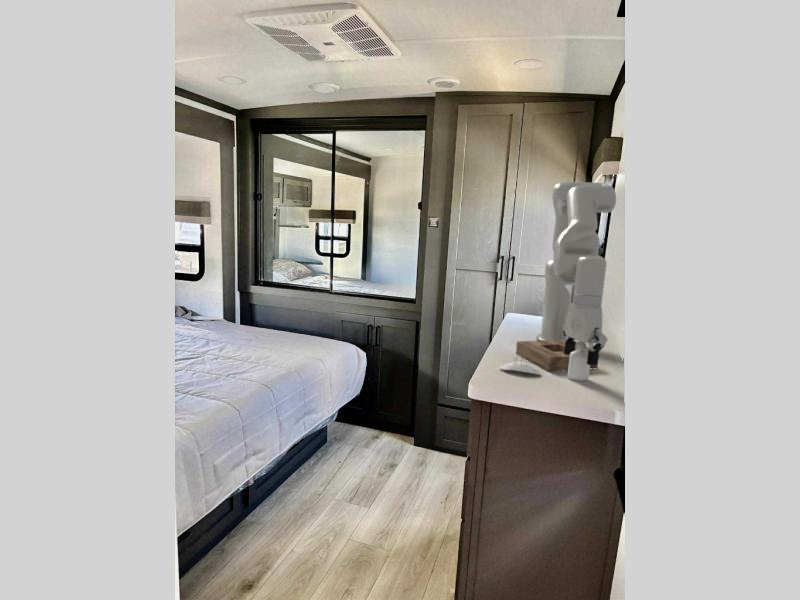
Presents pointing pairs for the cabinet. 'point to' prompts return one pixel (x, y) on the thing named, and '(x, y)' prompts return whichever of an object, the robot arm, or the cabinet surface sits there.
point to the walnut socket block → (546, 354)
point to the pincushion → (521, 367)
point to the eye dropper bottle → (579, 363)
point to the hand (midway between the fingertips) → (580, 359)
